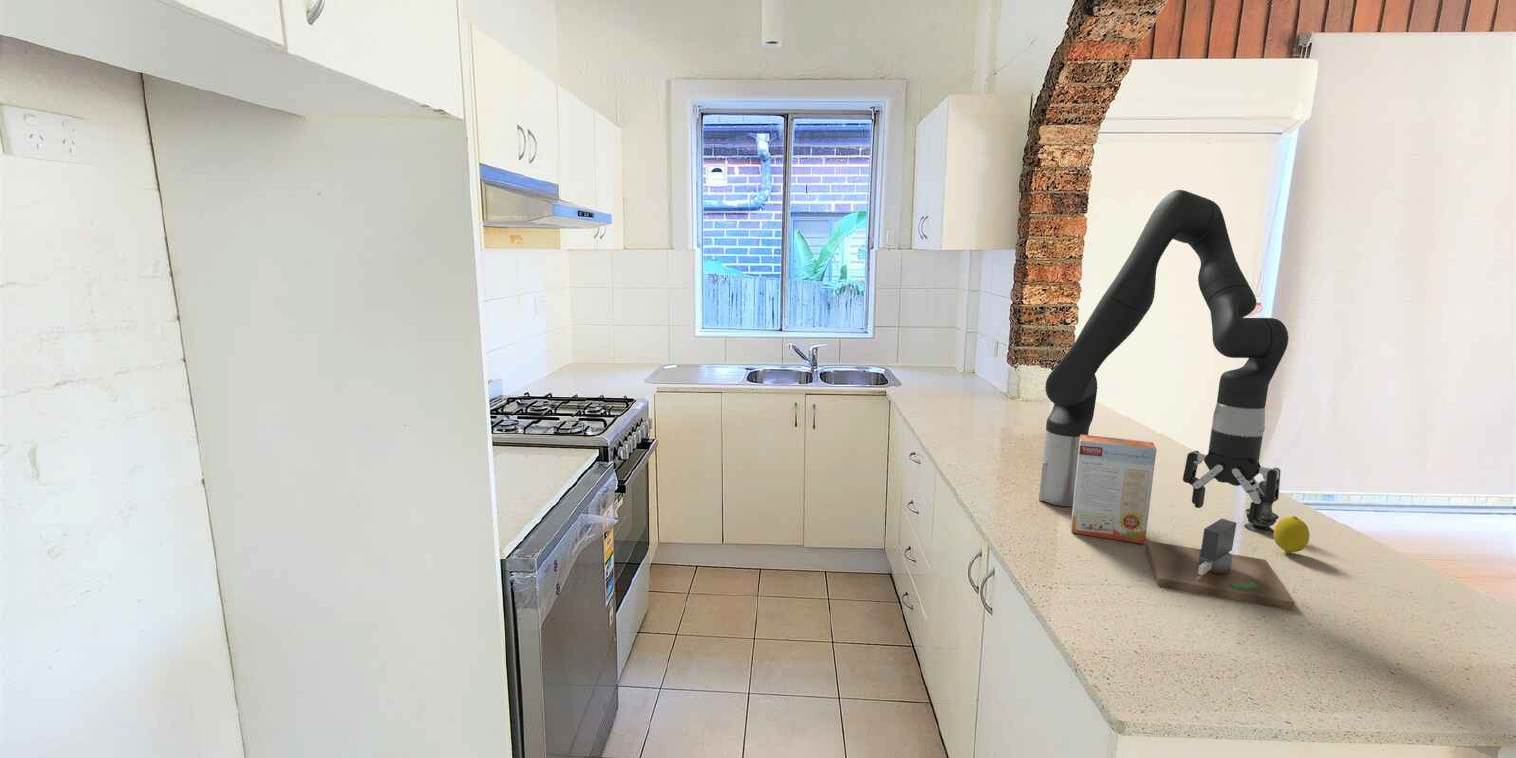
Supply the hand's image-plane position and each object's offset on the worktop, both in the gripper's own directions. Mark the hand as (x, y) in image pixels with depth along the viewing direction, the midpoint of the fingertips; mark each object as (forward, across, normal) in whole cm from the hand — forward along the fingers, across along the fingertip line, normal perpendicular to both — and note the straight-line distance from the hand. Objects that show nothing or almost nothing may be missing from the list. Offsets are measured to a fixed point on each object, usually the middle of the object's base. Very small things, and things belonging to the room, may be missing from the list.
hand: (1224, 514), depth 121 cm
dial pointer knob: (+11, 0, -2) cm, 11 cm away
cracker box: (+12, -21, +2) cm, 25 cm away
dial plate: (+12, 0, 0) cm, 12 cm away
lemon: (+13, +5, +23) cm, 26 cm away
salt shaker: (+13, -3, +32) cm, 35 cm away
